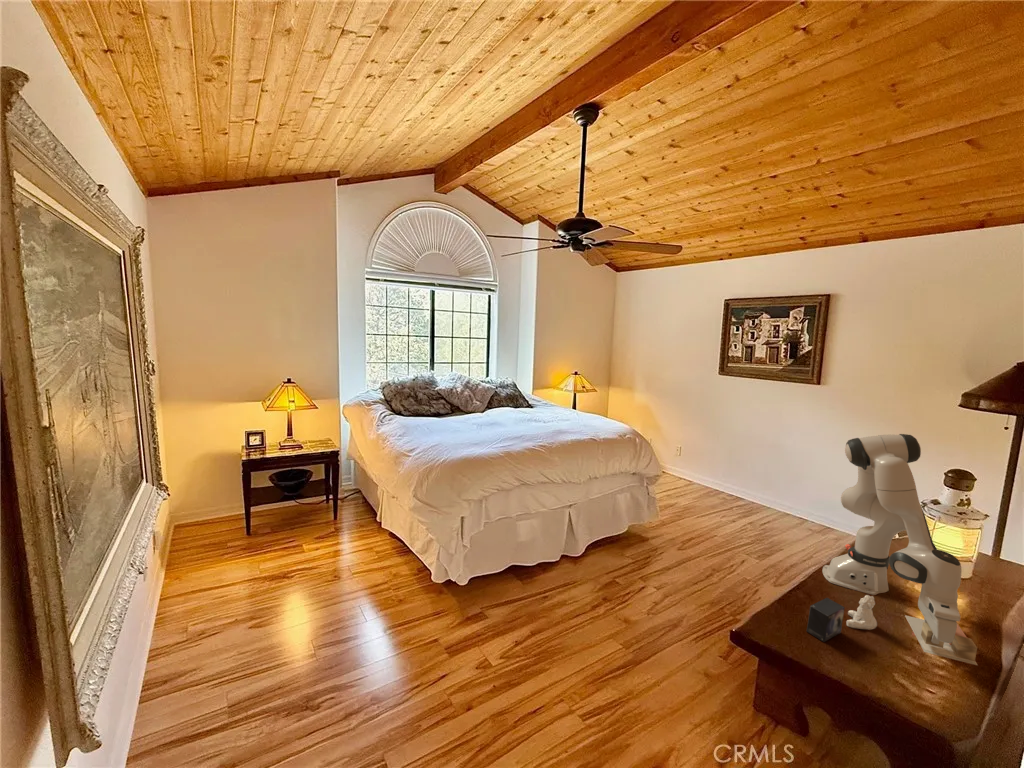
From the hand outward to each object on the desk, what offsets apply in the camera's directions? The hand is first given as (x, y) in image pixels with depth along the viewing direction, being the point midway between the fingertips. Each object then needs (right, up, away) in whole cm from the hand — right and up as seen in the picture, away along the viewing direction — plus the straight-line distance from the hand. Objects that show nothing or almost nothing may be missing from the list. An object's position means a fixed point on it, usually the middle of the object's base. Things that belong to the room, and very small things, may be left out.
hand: (931, 636), depth 155 cm
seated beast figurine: (-14, -3, +12) cm, 19 cm away
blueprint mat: (+7, -4, +5) cm, 9 cm away
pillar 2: (+8, -4, -3) cm, 9 cm away
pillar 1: (0, -2, 0) cm, 2 cm away
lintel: (+12, -3, +6) cm, 14 cm away
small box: (-31, -3, +8) cm, 32 cm away
